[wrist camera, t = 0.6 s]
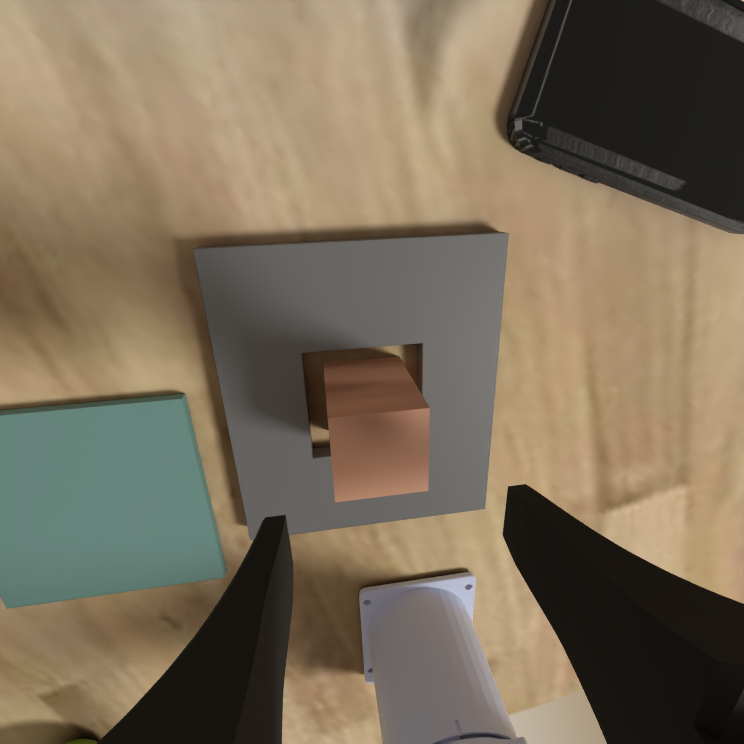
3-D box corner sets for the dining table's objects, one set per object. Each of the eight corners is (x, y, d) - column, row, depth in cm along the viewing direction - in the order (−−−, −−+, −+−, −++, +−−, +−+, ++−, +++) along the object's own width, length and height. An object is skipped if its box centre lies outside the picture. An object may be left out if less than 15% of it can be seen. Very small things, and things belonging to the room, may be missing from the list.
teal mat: (226, 569, 25) (224, 577, 25) (14, 599, 24) (7, 608, 23) (185, 393, 21) (181, 398, 20) (-82, 417, 19) (-93, 423, 19)
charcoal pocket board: (478, 498, 26) (484, 508, 25) (252, 527, 24) (250, 540, 23) (499, 231, 20) (508, 233, 19) (198, 247, 18) (192, 249, 17)
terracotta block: (399, 422, 23) (428, 490, 18) (328, 430, 23) (335, 502, 17) (399, 356, 22) (429, 407, 16) (322, 362, 21) (327, 418, 16)
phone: (586, -87, 15) (861, 67, 19) (569, -68, 16) (832, 74, 20) (505, 144, 18) (760, 242, 21) (494, 147, 19) (739, 240, 22)
